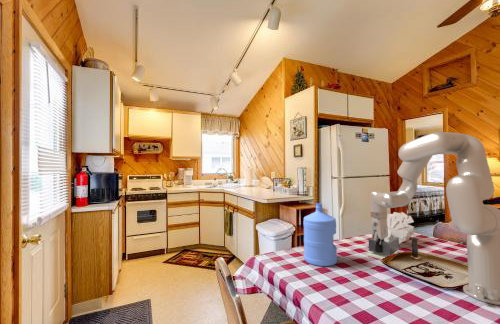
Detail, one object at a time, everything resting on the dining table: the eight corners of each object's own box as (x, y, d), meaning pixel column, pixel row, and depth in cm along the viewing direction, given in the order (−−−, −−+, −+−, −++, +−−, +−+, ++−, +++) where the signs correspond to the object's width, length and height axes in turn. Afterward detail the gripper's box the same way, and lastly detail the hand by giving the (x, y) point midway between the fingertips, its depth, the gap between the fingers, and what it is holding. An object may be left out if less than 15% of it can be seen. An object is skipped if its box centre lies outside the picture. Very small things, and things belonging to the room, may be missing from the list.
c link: (390, 255, 117) (389, 243, 118) (368, 250, 125) (368, 239, 125) (399, 248, 127) (398, 237, 127) (379, 244, 134) (378, 234, 135)
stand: (419, 260, 117) (418, 239, 117) (408, 257, 120) (407, 238, 120) (421, 257, 120) (420, 238, 120) (411, 255, 123) (410, 236, 123)
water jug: (314, 268, 108) (313, 206, 109) (298, 256, 123) (297, 202, 124) (344, 264, 112) (342, 204, 113) (325, 253, 127) (323, 201, 128)
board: (390, 261, 116) (390, 259, 116) (366, 255, 124) (366, 254, 124) (400, 253, 126) (400, 251, 126) (378, 248, 135) (378, 247, 135)
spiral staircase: (379, 253, 139) (393, 241, 156) (411, 246, 127) (422, 234, 144) (363, 222, 145) (379, 214, 162) (392, 213, 133) (405, 206, 150)
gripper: (381, 218, 114) (382, 257, 114) (392, 214, 125) (393, 249, 124) (364, 216, 120) (365, 253, 119) (376, 212, 131) (377, 246, 130)
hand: (379, 251), depth 122 cm, fingers closed on c link
